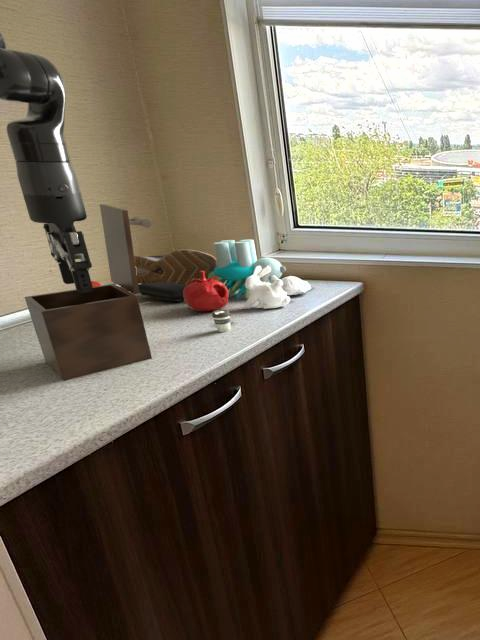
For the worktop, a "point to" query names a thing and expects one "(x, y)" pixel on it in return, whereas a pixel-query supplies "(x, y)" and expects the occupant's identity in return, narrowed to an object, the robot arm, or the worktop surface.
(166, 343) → the worktop surface
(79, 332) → the chest
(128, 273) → the lid
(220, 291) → the pomegranate
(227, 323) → the grey ridged cylinder
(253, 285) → the rabbit figurine
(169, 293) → the carrying case
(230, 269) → the toy
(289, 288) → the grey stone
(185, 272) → the athletic shoe
